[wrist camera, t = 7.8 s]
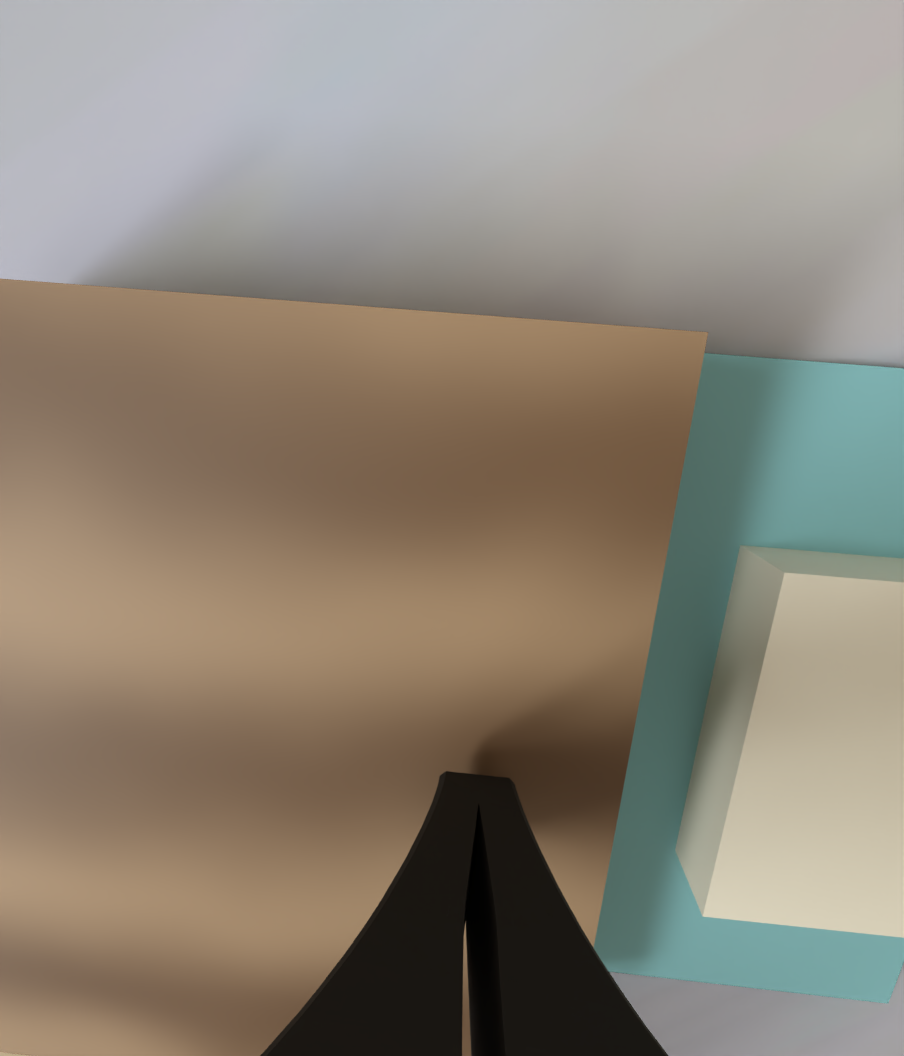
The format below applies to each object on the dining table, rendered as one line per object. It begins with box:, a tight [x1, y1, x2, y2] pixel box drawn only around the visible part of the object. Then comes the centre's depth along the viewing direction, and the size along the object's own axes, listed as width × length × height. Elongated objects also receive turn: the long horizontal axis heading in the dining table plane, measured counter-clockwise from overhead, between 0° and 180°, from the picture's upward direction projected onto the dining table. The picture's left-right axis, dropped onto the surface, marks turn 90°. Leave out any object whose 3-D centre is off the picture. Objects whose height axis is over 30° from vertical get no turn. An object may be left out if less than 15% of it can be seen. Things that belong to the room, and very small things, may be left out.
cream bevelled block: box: [675, 545, 904, 938], centre depth 13 cm, size 9×6×2 cm, turn 176°
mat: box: [594, 353, 904, 1003], centre depth 14 cm, size 18×10×1 cm, turn 176°
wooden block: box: [0, 279, 708, 1056], centre depth 13 cm, size 18×14×4 cm
